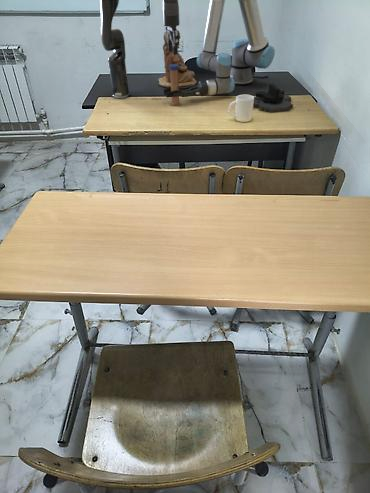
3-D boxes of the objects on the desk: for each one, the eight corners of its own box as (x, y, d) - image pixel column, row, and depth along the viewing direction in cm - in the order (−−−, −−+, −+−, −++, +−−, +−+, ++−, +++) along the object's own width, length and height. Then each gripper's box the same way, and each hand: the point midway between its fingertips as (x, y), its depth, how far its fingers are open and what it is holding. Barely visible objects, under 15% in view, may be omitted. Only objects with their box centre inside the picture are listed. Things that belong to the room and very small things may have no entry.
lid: (168, 68, 184) (168, 64, 183) (178, 67, 184) (178, 63, 183) (169, 70, 180) (169, 66, 179) (179, 69, 181) (179, 66, 179)
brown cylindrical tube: (171, 103, 195) (169, 65, 183) (178, 102, 195) (177, 65, 183) (172, 105, 192) (170, 67, 180) (179, 105, 192) (178, 67, 180)
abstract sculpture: (255, 94, 173) (243, 83, 188) (253, 113, 179) (242, 100, 194) (304, 90, 176) (288, 79, 191) (301, 109, 182) (286, 97, 197)
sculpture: (197, 88, 213) (196, 30, 194) (156, 89, 214) (152, 31, 194) (196, 75, 234) (196, 22, 215) (159, 76, 235) (156, 23, 215)
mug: (229, 123, 170) (230, 101, 163) (225, 117, 176) (226, 95, 170) (254, 121, 171) (256, 99, 164) (249, 115, 177) (251, 93, 171)
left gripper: (159, 12, 171) (161, 51, 182) (168, 16, 161) (170, 56, 171) (173, 11, 173) (175, 49, 184) (183, 14, 163) (185, 55, 173)
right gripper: (212, 100, 190) (170, 105, 184) (200, 90, 202) (161, 96, 197) (212, 85, 185) (169, 90, 180) (200, 76, 198) (160, 81, 192)
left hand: (172, 52), depth 177 cm, fingers open, 7 cm apart
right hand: (165, 93), depth 188 cm, fingers closed on brown cylindrical tube, 4 cm apart
